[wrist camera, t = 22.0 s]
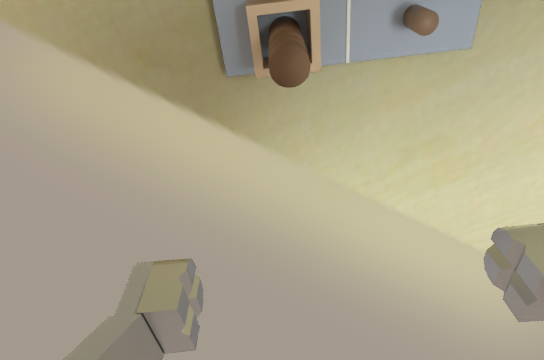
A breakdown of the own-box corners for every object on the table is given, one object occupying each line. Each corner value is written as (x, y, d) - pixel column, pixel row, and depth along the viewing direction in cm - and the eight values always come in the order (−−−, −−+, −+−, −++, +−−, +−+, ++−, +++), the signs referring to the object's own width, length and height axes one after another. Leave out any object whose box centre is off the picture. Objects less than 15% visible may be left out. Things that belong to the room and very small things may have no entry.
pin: (300, 14, 31) (310, 44, 24) (301, 48, 33) (310, 85, 25) (267, 17, 31) (267, 48, 24) (270, 51, 33) (270, 89, 26)
